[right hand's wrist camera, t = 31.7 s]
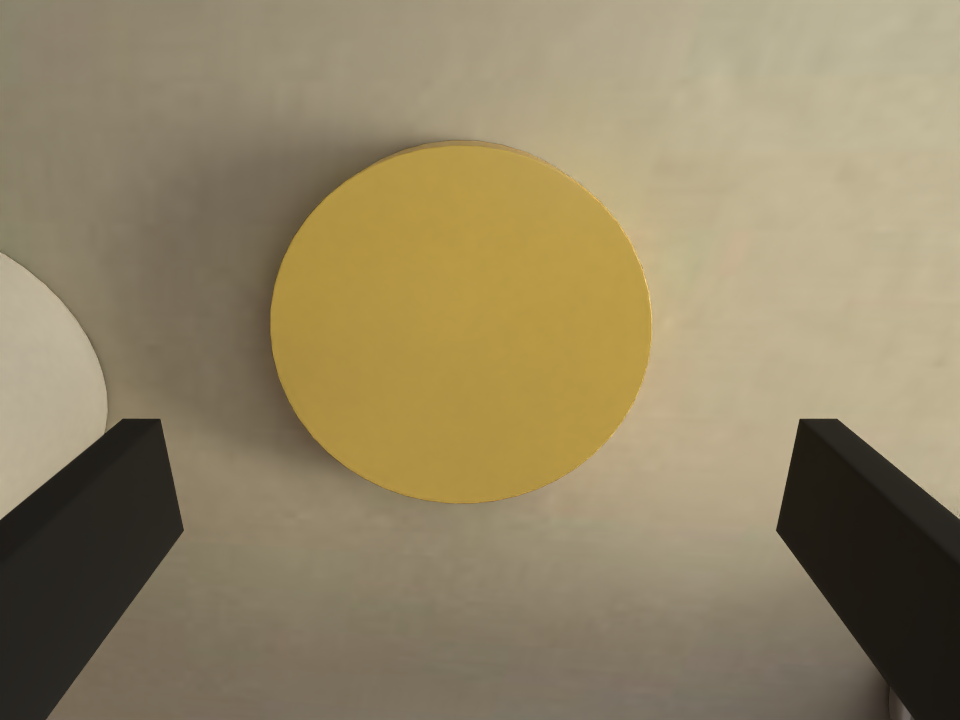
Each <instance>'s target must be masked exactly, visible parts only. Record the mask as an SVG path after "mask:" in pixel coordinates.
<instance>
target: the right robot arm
mask: <svg viewBox="0 0 960 720" xmlns="http://www.w3.org/2000/svg"><path fill="white" fill-rule="evenodd" d="M183 531H184V529H183V524H182V519H181V515H180V510H179V505H178V500H177V496H176V491H175V486H174V482H173V477H172V472H171V467H170V463H169V458H168V453H167V448H166V444H165V439H164V434H163V429H162V425H161V420H160V419H122V420H121V421H120V422H119V423H117V424H116V425H115V426H114V427H112V428H111V429H110V430H109V431H108V432H106V433H105V434H104V435H103V436H101V437H100V438H99V439H98V440H97V441H95V442H94V443H93V444H92V445H91V446H89V447H88V448H87V449H86V450H84V451H83V452H82V453H81V454H80V455H78V456H77V457H76V458H75V459H73V460H72V461H71V462H70V463H69V464H67V465H66V466H65V467H64V468H63V469H61V470H60V471H59V472H58V473H56V474H55V475H54V476H53V477H52V478H50V479H49V480H48V481H47V482H45V483H44V484H43V485H42V486H41V487H39V488H38V489H37V490H36V491H35V492H33V493H32V494H31V495H30V496H28V497H27V498H26V499H25V500H24V501H22V502H21V503H20V504H19V505H17V506H16V507H15V508H14V509H13V510H11V511H10V512H9V513H8V514H7V515H5V516H4V517H3V518H2V519H0V720H46V718H47V717H48V716H49V714H50V713H51V712H52V710H53V709H54V708H55V706H56V705H57V703H58V702H59V701H60V699H61V698H62V697H63V695H64V694H65V692H66V691H67V690H68V688H69V687H70V686H71V684H72V683H73V682H74V680H75V679H76V677H77V676H78V675H79V673H80V672H81V671H82V669H83V668H84V666H85V665H86V664H87V662H88V661H89V660H90V658H91V657H92V656H93V654H94V653H95V651H96V650H97V649H98V647H99V646H100V645H101V643H102V642H103V640H104V639H105V638H106V636H107V635H108V634H109V632H110V631H111V630H112V628H113V627H114V625H115V624H116V623H117V621H118V620H119V619H120V617H121V616H122V615H123V613H124V612H125V610H126V609H127V608H128V606H129V605H130V604H131V602H132V601H133V599H134V598H135V597H136V595H137V594H138V593H139V591H140V590H141V589H142V587H143V586H144V584H145V583H146V582H147V580H148V579H149V578H150V576H151V575H152V573H153V572H154V571H155V569H156V568H157V567H158V565H159V564H160V563H161V561H162V560H163V558H164V557H165V556H166V554H167V553H168V552H169V550H170V549H171V547H172V546H173V545H174V543H175V542H176V541H177V539H178V538H179V537H180V535H181V534H182V532H183ZM776 531H777V532H778V534H779V535H780V537H781V538H782V539H783V541H784V542H785V543H786V545H787V546H788V547H789V549H790V550H791V552H792V553H793V554H794V556H795V557H796V558H797V560H798V561H799V563H800V564H801V565H802V567H803V568H804V569H805V571H806V572H807V573H808V575H809V576H810V578H811V579H812V580H813V582H814V583H815V584H816V586H817V587H818V589H819V590H820V591H821V593H822V594H823V595H824V597H825V598H826V599H827V601H828V602H829V604H830V605H831V606H832V608H833V609H834V610H835V612H836V613H837V615H838V616H839V617H840V619H841V620H842V621H843V623H844V624H845V625H846V627H847V628H848V630H849V631H850V632H851V634H852V635H853V636H854V638H855V639H856V640H857V642H858V643H859V645H860V646H861V647H862V649H863V650H864V651H865V653H866V654H867V656H868V657H869V658H870V660H871V661H872V662H873V664H874V665H875V666H876V668H877V669H878V671H879V672H880V673H881V675H882V676H883V677H884V679H885V680H886V682H887V683H888V684H889V686H890V694H889V713H890V719H891V720H960V519H958V518H957V517H956V516H955V515H953V514H952V513H951V512H950V511H949V510H947V509H946V508H945V507H944V506H943V505H941V504H940V503H939V502H938V501H936V500H935V499H934V498H933V497H932V496H930V495H929V494H928V493H927V492H925V491H924V490H923V489H922V488H921V487H919V486H918V485H917V484H916V483H915V482H913V481H912V480H911V479H910V478H908V477H907V476H906V475H905V474H904V473H902V472H901V471H900V470H899V469H897V468H896V467H895V466H894V465H893V464H891V463H890V462H889V461H888V460H887V459H885V458H884V457H883V456H882V455H880V454H879V453H878V452H877V451H876V450H874V449H873V448H872V447H871V446H869V445H868V444H867V443H866V442H865V441H863V440H862V439H861V438H860V437H859V436H857V435H856V434H855V433H854V432H852V431H851V430H850V429H849V428H848V427H846V426H845V425H844V424H843V423H841V422H840V421H839V420H838V419H800V420H799V425H798V429H797V434H796V439H795V444H794V448H793V453H792V458H791V463H790V467H789V472H788V477H787V482H786V486H785V491H784V496H783V500H782V505H781V510H780V515H779V519H778V524H777V529H776Z"/></svg>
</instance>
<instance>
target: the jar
mask: <svg viewBox="0 0 960 720" xmlns="http://www.w3.org/2000/svg"><path fill="white" fill-rule="evenodd" d="M107 413H108V405H107V390H106V385H105V380H104V375H103V372H102V369H101V366H100V363H99V360H98V357H97V355H96V353H95V351H94V349H93V347H92V345H91V343H90V341H89V339H88V337H87V335H86V334H85V332H84V331H83V329H82V327H81V326H80V324H79V323H78V321H77V320H76V318H75V317H74V316H73V315H72V313H71V312H70V311H69V310H68V308H67V307H66V306H65V305H64V303H63V302H62V301H61V300H60V299H59V298H58V297H57V296H56V295H55V294H54V293H53V292H52V291H51V290H50V289H49V288H48V287H47V286H46V285H45V284H44V283H43V282H42V281H40V280H39V279H38V278H37V277H35V276H34V275H33V274H32V273H31V272H29V271H28V270H27V269H26V268H24V267H23V266H21V265H20V264H18V263H17V262H15V261H14V260H12V259H11V258H9V257H8V256H6V255H5V254H3V253H1V252H0V519H2V518H3V517H4V516H5V515H7V514H8V513H9V512H10V511H11V510H13V509H14V508H15V507H16V506H17V505H19V504H20V503H21V502H22V501H24V500H25V499H26V498H27V497H28V496H30V495H31V494H32V493H33V492H35V491H36V490H37V489H38V488H39V487H41V486H42V485H43V484H44V483H45V482H47V481H48V480H49V479H50V478H52V477H53V476H54V475H55V474H56V473H58V472H59V471H60V470H61V469H63V468H64V467H65V466H66V465H67V464H69V463H70V462H71V461H72V460H73V459H75V458H76V457H77V456H78V455H80V454H81V453H82V452H83V451H84V450H86V449H87V448H88V447H89V446H91V445H92V444H93V443H94V442H95V441H97V440H98V439H99V438H100V437H101V436H103V435H104V432H105V428H106V421H107Z"/></svg>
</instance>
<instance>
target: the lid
mask: <svg viewBox="0 0 960 720" xmlns="http://www.w3.org/2000/svg"><path fill="white" fill-rule="evenodd" d="M270 336H271V345H272V353H273V358H274V362H275V366H276V369H277V373H278V377H279V380H280V382H281V385H282V387H283V389H284V392H285V394H286V397H287V399H288V401H289V403H290V404H291V406H292V408H293V409H294V411H295V413H296V415H297V416H298V418H299V420H300V421H301V422H302V424H303V425H304V426H305V428H306V429H307V430H308V431H309V433H310V434H311V435H312V437H313V438H314V439H315V440H316V441H317V442H318V443H319V444H320V445H321V446H322V447H323V448H324V449H325V450H326V451H327V452H328V453H329V454H330V455H331V456H333V457H334V458H335V459H336V460H338V461H339V462H340V463H341V464H343V465H344V466H345V467H347V468H348V469H350V470H351V471H353V472H354V473H356V474H358V475H359V476H361V477H362V478H364V479H366V480H368V481H370V482H372V483H374V484H376V485H378V486H381V487H383V488H385V489H388V490H390V491H393V492H396V493H399V494H402V495H405V496H409V497H413V498H417V499H422V500H426V501H434V502H442V503H481V502H491V501H497V500H502V499H506V498H511V497H516V496H519V495H522V494H525V493H528V492H531V491H534V490H536V489H539V488H541V487H543V486H545V485H547V484H549V483H552V482H554V481H556V480H558V479H559V478H561V477H563V476H564V475H566V474H567V473H569V472H571V471H572V470H574V469H576V468H577V467H578V466H579V465H581V464H582V463H583V462H585V461H586V460H587V459H588V458H590V457H591V456H592V455H593V454H594V453H595V452H596V451H597V450H598V449H599V448H600V447H601V446H602V445H603V444H604V443H605V442H606V441H607V440H608V439H609V438H610V437H611V435H612V434H613V433H614V432H615V430H616V429H617V428H618V426H619V425H620V424H621V423H622V421H623V419H624V418H625V416H626V414H627V413H628V411H629V409H630V408H631V406H632V404H633V403H634V400H635V398H636V396H637V394H638V391H639V389H640V387H641V384H642V382H643V379H644V375H645V371H646V368H647V364H648V361H649V355H650V348H651V341H652V309H651V302H650V295H649V289H648V286H647V282H646V279H645V275H644V272H643V268H642V265H641V263H640V261H639V259H638V256H637V254H636V252H635V250H634V248H633V245H632V243H631V242H630V240H629V239H628V237H627V236H626V234H625V232H624V231H623V229H622V228H621V226H620V224H619V223H618V222H617V220H616V219H615V218H614V217H613V216H612V215H611V213H610V212H609V211H608V210H607V209H606V208H605V206H604V205H603V204H602V203H601V202H600V201H599V200H598V199H597V198H595V197H594V196H593V195H592V194H591V193H590V192H589V191H587V190H586V189H585V188H584V187H583V186H582V185H580V184H579V183H578V182H576V181H575V180H573V179H572V178H571V177H569V176H568V175H566V174H565V173H563V172H562V171H560V170H559V169H557V168H555V167H554V166H552V165H551V164H549V163H548V162H546V161H544V160H541V159H539V158H537V157H535V156H533V155H531V154H529V153H526V152H524V151H520V150H517V149H514V148H511V147H507V146H504V145H500V144H494V143H488V142H482V141H462V140H451V141H442V142H434V143H427V144H423V145H419V146H415V147H411V148H408V149H404V150H401V151H399V152H397V153H394V154H392V155H389V156H387V157H385V158H382V159H380V160H379V161H377V162H375V163H374V164H372V165H370V166H368V167H367V168H365V169H363V170H362V171H360V172H359V173H357V174H355V175H354V176H352V177H351V178H349V179H348V180H346V181H345V182H344V183H342V184H341V185H340V186H339V187H337V188H336V189H335V190H334V191H332V192H331V193H330V194H329V195H327V196H326V197H325V198H324V199H323V200H322V201H321V203H320V204H319V205H318V206H317V207H316V208H315V209H314V210H313V211H312V212H311V213H310V214H309V216H308V217H307V218H306V220H305V221H304V222H303V224H302V225H301V227H300V228H299V230H298V231H297V233H296V234H295V236H294V237H293V239H292V241H291V243H290V245H289V247H288V249H287V251H286V253H285V255H284V257H283V259H282V262H281V265H280V268H279V271H278V274H277V277H276V281H275V284H274V290H273V296H272V301H271V307H270Z"/></svg>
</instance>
